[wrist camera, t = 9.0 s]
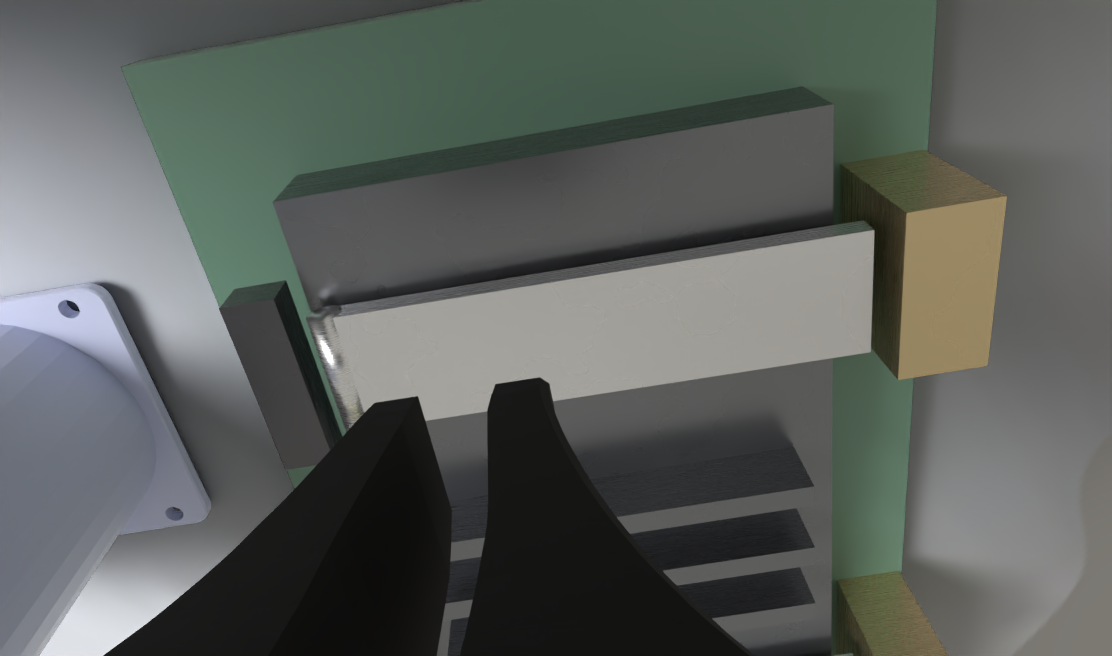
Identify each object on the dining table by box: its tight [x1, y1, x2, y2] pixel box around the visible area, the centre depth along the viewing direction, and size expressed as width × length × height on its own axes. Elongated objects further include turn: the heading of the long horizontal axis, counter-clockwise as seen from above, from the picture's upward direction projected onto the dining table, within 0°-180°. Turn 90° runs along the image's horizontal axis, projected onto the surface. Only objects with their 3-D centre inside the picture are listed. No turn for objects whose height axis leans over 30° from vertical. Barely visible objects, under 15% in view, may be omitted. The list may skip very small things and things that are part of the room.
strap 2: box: [306, 220, 875, 431], centre depth 18 cm, size 12×3×1 cm, turn 99°
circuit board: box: [121, 0, 937, 656], centre depth 24 cm, size 18×28×1 cm, turn 9°
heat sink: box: [219, 86, 1007, 656], centre depth 22 cm, size 16×22×4 cm
